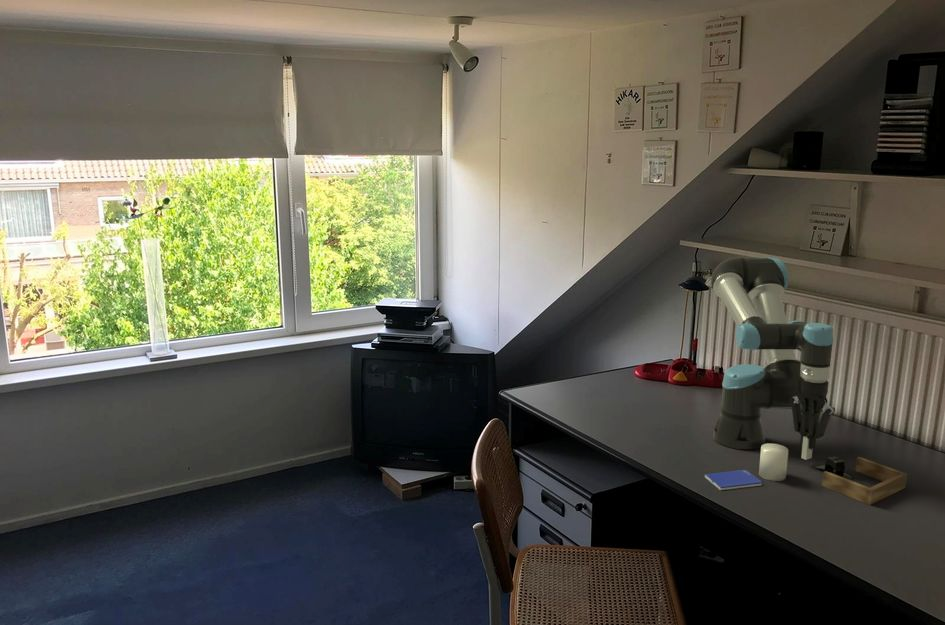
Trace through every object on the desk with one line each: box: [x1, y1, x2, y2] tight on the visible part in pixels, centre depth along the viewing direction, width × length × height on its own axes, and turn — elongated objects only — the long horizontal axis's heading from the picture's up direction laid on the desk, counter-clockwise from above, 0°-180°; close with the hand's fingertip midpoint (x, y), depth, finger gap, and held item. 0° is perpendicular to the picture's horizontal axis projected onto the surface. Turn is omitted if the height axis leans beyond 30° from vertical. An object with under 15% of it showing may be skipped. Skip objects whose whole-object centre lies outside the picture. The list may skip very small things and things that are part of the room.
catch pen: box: [821, 456, 908, 506], centre depth 201 cm, size 13×17×4 cm
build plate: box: [813, 456, 855, 481], centre depth 209 cm, size 12×7×5 cm, turn 16°
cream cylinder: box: [758, 443, 789, 482], centre depth 208 cm, size 7×7×8 cm
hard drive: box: [704, 469, 763, 491], centre depth 205 cm, size 2×8×12 cm
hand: (806, 457), depth 214 cm, fingers closed
